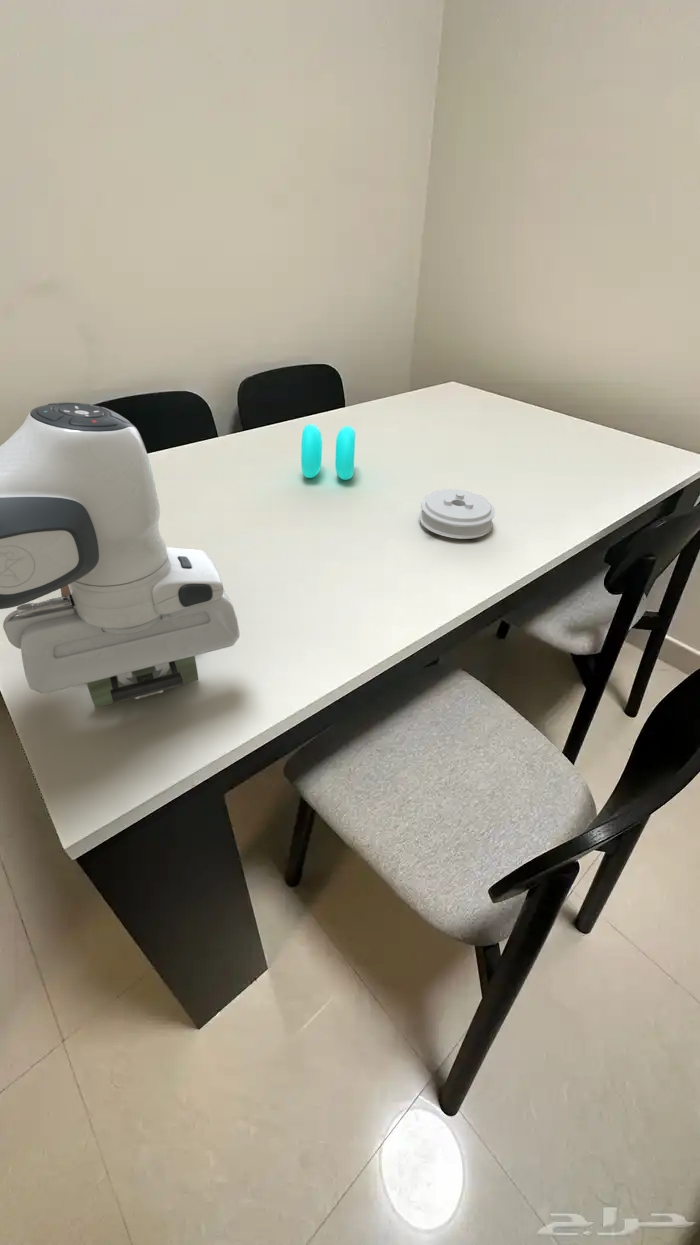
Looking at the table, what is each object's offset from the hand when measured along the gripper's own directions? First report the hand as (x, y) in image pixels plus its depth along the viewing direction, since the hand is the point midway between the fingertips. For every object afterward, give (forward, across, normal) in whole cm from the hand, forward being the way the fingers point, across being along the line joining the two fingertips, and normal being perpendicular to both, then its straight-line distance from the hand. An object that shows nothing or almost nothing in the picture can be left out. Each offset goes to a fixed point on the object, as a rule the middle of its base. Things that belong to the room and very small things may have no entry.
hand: (148, 692), depth 62 cm
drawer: (+3, 0, +7) cm, 7 cm away
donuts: (+4, +43, +51) cm, 67 cm away
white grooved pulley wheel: (+4, +56, +25) cm, 62 cm away
